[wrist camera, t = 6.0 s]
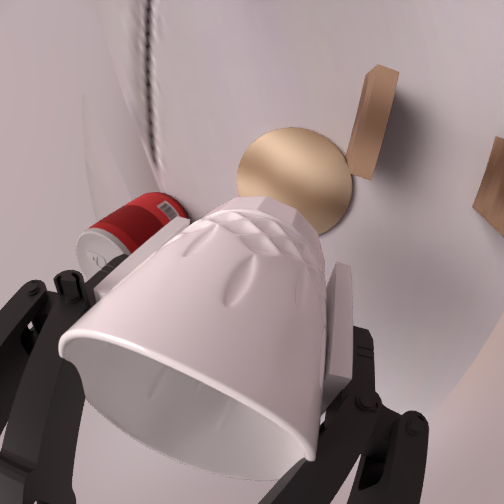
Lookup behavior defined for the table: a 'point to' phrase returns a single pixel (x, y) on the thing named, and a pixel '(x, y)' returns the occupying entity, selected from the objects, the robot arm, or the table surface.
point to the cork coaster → (298, 174)
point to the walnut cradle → (372, 133)
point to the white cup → (215, 343)
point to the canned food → (125, 230)
